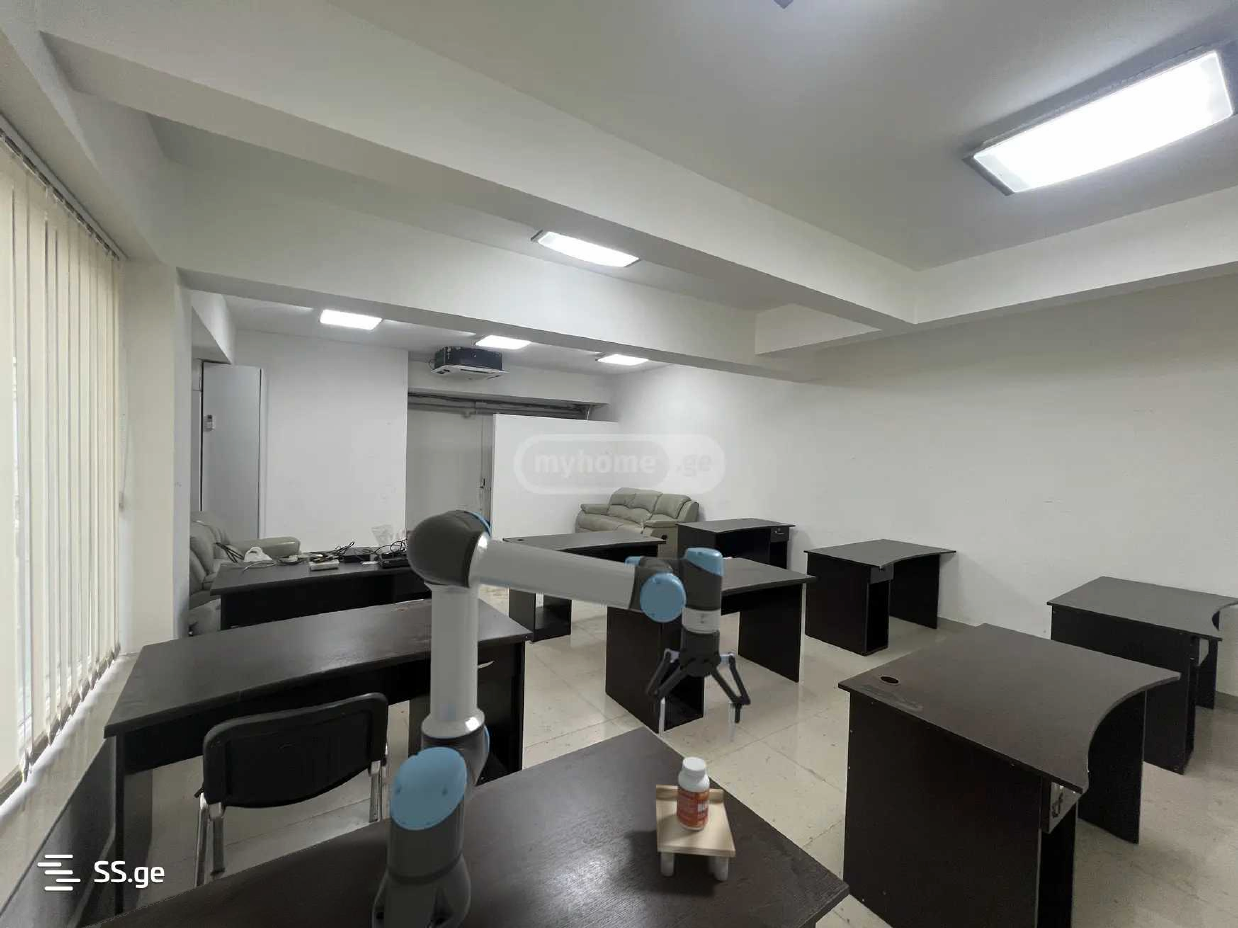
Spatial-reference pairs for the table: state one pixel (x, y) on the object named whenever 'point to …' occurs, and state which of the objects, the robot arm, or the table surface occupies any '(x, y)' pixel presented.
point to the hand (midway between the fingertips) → (695, 735)
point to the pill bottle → (693, 794)
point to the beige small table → (692, 832)
